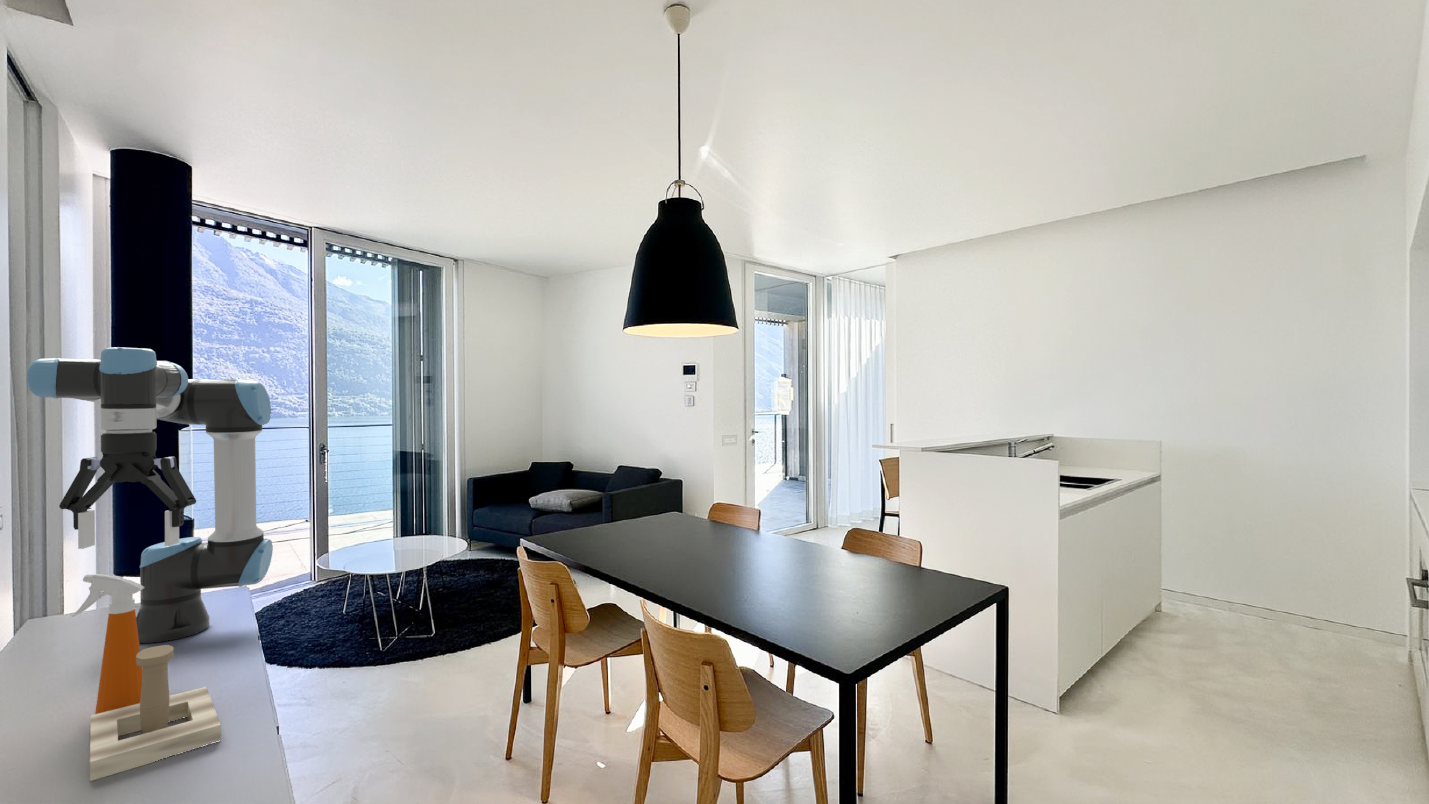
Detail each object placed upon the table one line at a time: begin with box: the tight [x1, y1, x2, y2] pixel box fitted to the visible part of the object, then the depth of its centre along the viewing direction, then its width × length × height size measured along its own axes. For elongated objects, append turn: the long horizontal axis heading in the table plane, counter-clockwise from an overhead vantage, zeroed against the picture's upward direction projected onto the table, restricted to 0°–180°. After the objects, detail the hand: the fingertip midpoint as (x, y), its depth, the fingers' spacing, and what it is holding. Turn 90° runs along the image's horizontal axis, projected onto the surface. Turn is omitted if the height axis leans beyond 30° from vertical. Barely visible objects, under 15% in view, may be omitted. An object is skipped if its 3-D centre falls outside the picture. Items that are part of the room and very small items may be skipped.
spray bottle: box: [71, 572, 145, 715], centre depth 118 cm, size 7×11×26 cm, turn 111°
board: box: [89, 686, 222, 782], centre depth 109 cm, size 20×16×3 cm
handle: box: [136, 644, 174, 735], centre depth 109 cm, size 5×6×15 cm
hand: (129, 545), depth 115 cm, fingers open, 13 cm apart
